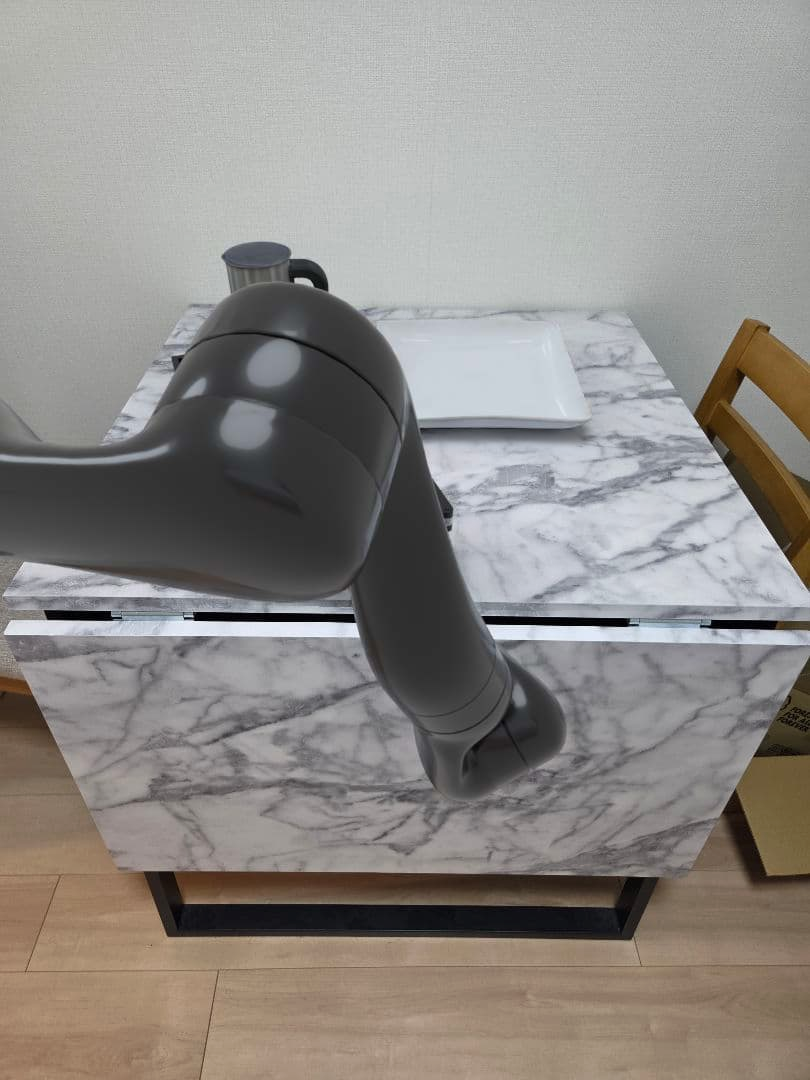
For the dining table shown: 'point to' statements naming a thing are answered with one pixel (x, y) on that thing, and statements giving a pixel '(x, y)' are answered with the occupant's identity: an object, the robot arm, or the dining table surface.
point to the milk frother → (269, 266)
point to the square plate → (487, 373)
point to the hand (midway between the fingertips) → (353, 473)
